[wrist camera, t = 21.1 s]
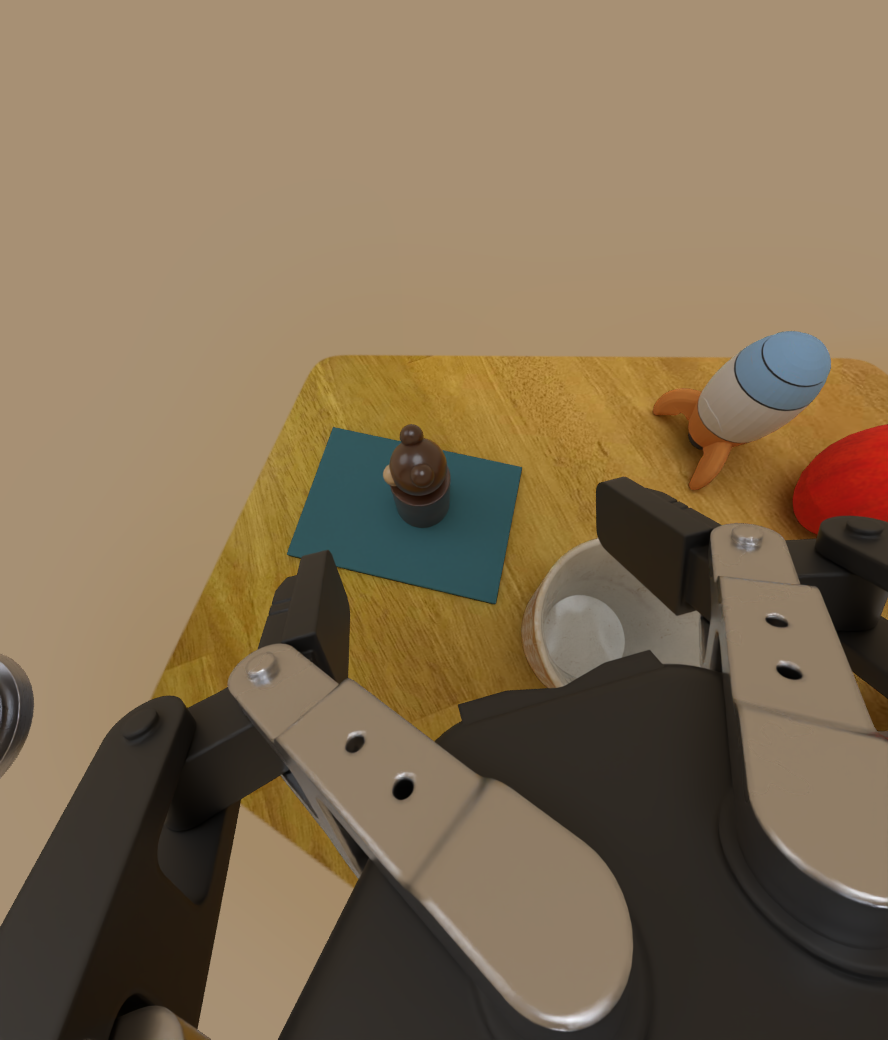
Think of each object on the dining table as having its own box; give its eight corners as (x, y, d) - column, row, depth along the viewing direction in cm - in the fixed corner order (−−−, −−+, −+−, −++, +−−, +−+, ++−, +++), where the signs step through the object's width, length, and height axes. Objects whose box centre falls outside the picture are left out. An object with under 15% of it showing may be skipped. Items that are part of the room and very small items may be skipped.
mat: (288, 555, 39) (286, 554, 39) (334, 429, 44) (333, 426, 43) (495, 604, 38) (495, 603, 37) (521, 469, 42) (522, 466, 42)
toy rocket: (740, 418, 45) (903, 346, 30) (718, 509, 44) (877, 480, 29) (653, 385, 45) (776, 296, 30) (628, 477, 43) (744, 431, 29)
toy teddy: (399, 534, 40) (384, 491, 29) (388, 485, 41) (370, 428, 31) (455, 520, 40) (459, 473, 30) (441, 473, 42) (441, 412, 31)
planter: (514, 559, 39) (538, 526, 29) (649, 574, 39) (719, 545, 29) (505, 704, 35) (530, 722, 25) (655, 722, 35) (740, 748, 25)
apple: (851, 468, 42) (1004, 396, 31) (881, 562, 39) (1064, 522, 28) (753, 466, 42) (870, 394, 31) (776, 561, 39) (915, 520, 28)
